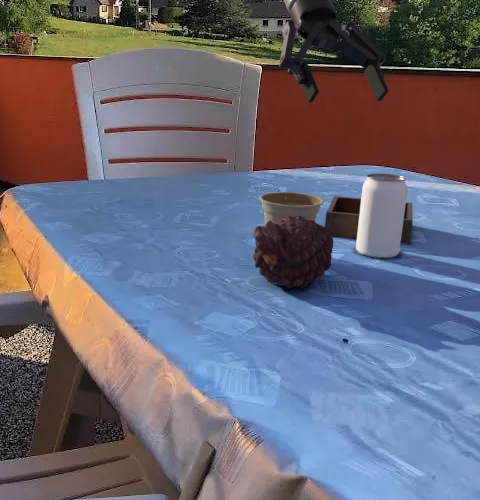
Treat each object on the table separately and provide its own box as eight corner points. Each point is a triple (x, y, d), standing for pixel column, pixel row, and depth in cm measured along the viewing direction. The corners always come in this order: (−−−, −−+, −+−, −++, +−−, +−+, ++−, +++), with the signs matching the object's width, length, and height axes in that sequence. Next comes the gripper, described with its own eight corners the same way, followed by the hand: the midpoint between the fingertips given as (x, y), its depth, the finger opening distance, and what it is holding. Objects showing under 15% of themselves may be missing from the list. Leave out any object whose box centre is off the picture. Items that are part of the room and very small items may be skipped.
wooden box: (409, 224, 128) (412, 202, 126) (409, 244, 115) (412, 220, 114) (331, 216, 132) (334, 195, 131) (324, 235, 120) (326, 212, 119)
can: (358, 244, 114) (367, 171, 111) (401, 250, 112) (411, 175, 108) (352, 255, 109) (360, 178, 105) (396, 261, 106) (406, 182, 103)
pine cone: (280, 257, 107) (323, 207, 103) (325, 304, 102) (372, 253, 98) (215, 251, 93) (262, 192, 89) (264, 304, 88) (315, 245, 84)
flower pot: (320, 264, 104) (325, 207, 102) (255, 260, 106) (259, 203, 103) (316, 246, 113) (321, 193, 110) (256, 242, 114) (260, 190, 112)
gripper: (357, 22, 136) (398, 109, 127) (240, 20, 129) (274, 112, 119) (377, -9, 130) (422, 80, 121) (255, -13, 122) (292, 81, 113)
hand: (348, 96), depth 120 cm, fingers open, 13 cm apart
